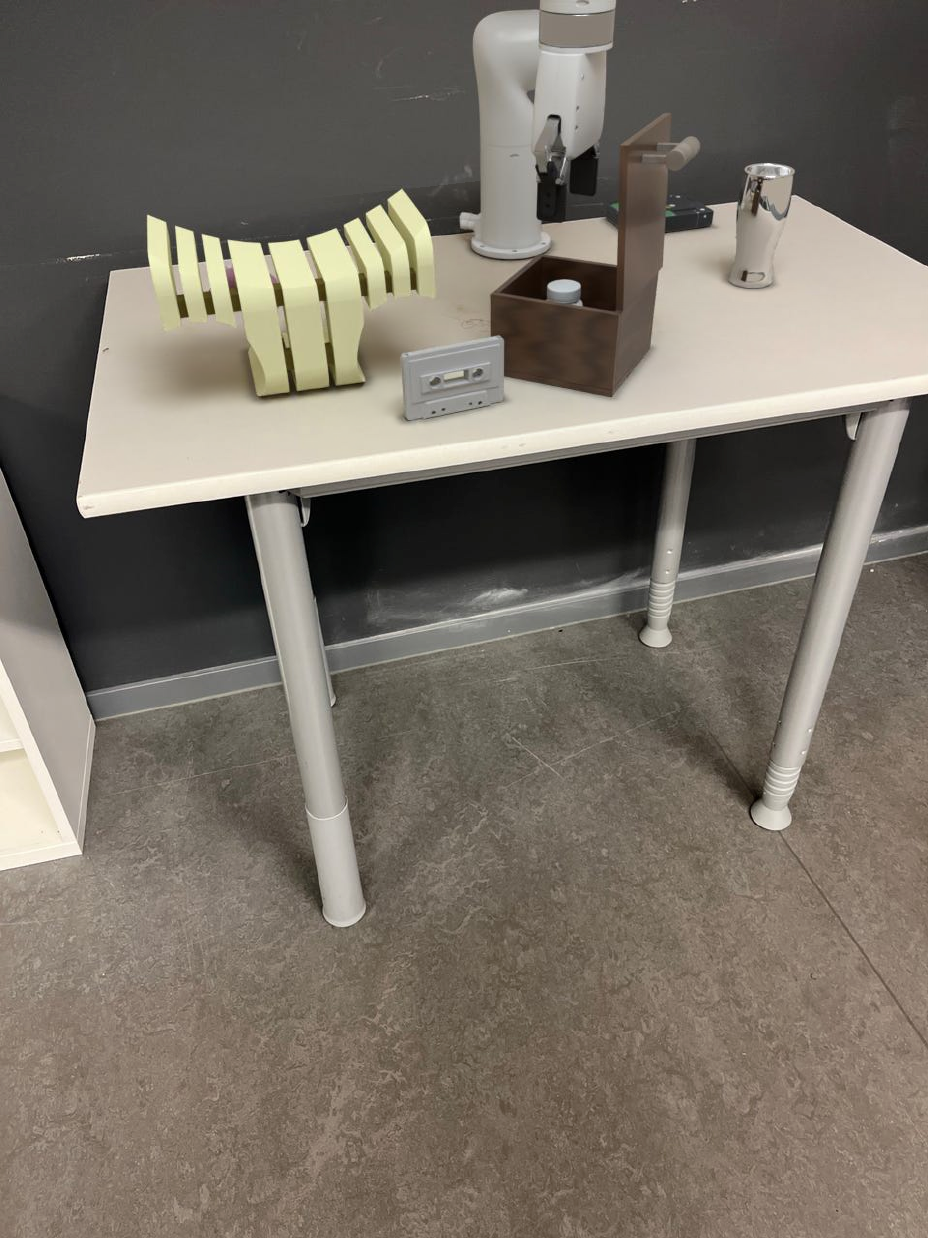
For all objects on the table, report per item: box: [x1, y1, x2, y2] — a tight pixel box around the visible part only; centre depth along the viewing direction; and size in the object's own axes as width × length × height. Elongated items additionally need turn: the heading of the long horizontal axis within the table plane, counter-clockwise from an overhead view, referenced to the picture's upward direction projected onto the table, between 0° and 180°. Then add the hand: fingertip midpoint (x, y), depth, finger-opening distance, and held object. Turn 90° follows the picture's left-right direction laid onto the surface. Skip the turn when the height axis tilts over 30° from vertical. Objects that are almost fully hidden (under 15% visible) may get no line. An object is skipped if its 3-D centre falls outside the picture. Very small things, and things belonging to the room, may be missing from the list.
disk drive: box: [605, 193, 715, 233], centre depth 153 cm, size 10×3×15 cm
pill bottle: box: [546, 280, 583, 306], centre depth 112 cm, size 5×5×8 cm
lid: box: [616, 112, 701, 311], centre depth 100 cm, size 16×15×5 cm
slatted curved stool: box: [146, 188, 437, 397], centre depth 109 cm, size 30×16×18 cm, turn 105°
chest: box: [489, 253, 660, 398], centre depth 112 cm, size 16×15×10 cm
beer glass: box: [728, 162, 796, 289], centre depth 129 cm, size 7×7×15 cm
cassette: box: [400, 336, 505, 421], centre depth 103 cm, size 12×2×8 cm, turn 112°
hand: (567, 206), depth 104 cm, fingers open, 9 cm apart
